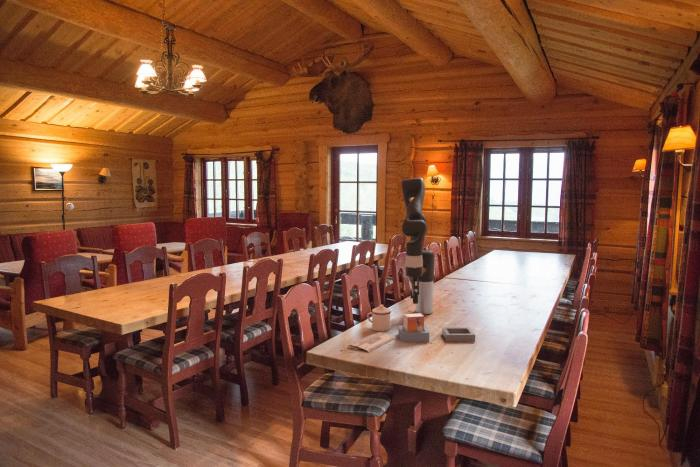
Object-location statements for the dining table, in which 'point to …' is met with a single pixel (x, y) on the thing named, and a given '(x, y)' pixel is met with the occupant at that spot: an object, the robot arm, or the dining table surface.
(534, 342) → the dining table surface
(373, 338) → the newspaper
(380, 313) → the teacup with lid
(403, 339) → the port sleeve
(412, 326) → the small box
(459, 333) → the frame
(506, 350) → the dining table surface
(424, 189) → the robot arm
